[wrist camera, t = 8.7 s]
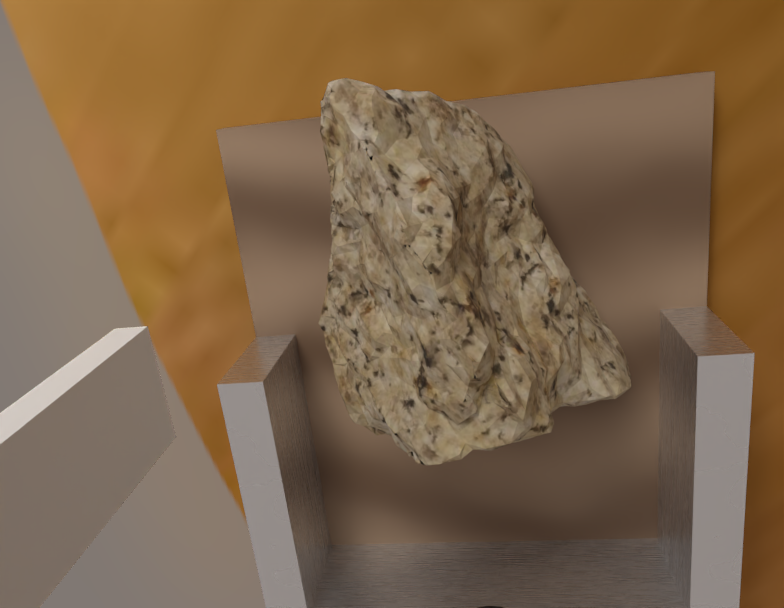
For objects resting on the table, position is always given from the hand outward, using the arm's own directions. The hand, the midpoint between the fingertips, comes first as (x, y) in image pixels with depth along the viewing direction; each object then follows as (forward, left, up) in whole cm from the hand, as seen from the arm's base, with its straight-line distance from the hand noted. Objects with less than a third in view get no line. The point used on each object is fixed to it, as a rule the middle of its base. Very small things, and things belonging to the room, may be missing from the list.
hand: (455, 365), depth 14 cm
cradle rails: (+11, 0, -14) cm, 18 cm away
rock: (0, 0, -14) cm, 14 cm away
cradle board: (+6, 0, -15) cm, 16 cm away
